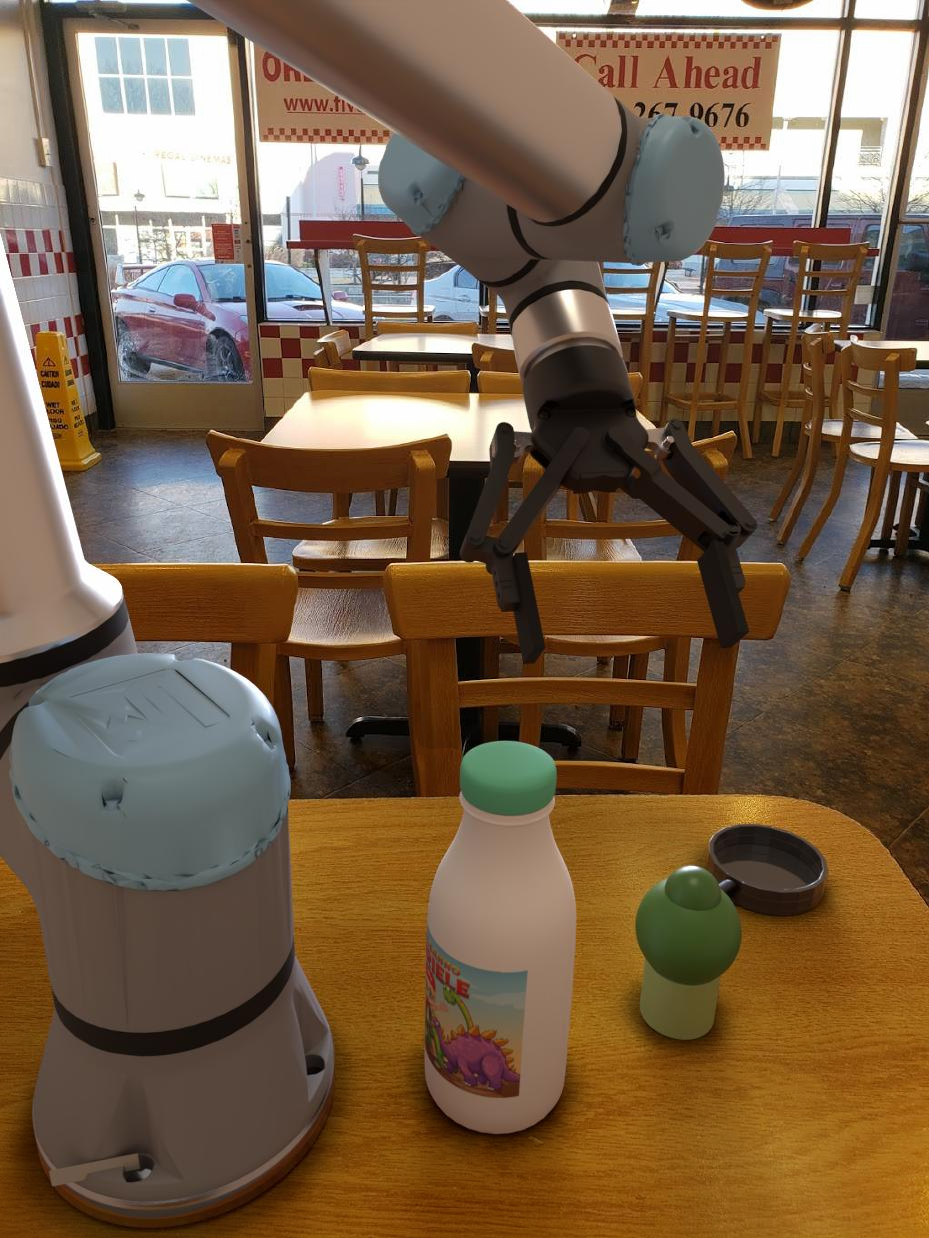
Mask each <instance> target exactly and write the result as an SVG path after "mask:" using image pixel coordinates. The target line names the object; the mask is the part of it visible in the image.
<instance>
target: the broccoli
mask: <svg viewBox="0 0 929 1238" xmlns="http://www.w3.org/2000/svg"><path fill="white" fill-rule="evenodd" d="M634 924H635V930H634V931H635V937H636V941H637V944H638V947H639V949H640V951H641V953H642V955H643V957H644V965H643V973H642V983H641V988H640V989H641V991H640V997H639V1011H640V1014H641V1017H642V1018H643V1020H644V1021H645V1022H646V1024H647V1025H648V1026H649V1027H650V1028H651V1029H652V1030H654V1031H655V1032H657V1033H658V1034H660V1035H662V1036H664V1037H667V1038H670V1039H674V1040H680V1041H689V1040H690V1041H691V1040H695V1039H699V1038H701V1037H704V1036H705V1035H706V1034H708V1033H709V1032H710V1030H711V1029H712V1028H713V1025H714V1022H715V1015H716V1009H717V1003H718V998H719V991H720V984H721V978H722V975H723V974H725V973H726V972H727V971H728V970H729V969H730V968H731V966H733V964H734V962H735V961H736V959H737V957H738V954H739V952H740V949H741V944H742V937H743V932H742V931H743V930H742V929H743V928H742V923H741V918H740V915H739V912H738V910H737V907H736V906H735V903H733V902H732V901H731V899H730V898H729V897H728V896H727V894H726V893H725V892H724V891H723V890H722V889H720V886H719V884H718V882H717V880H716V879H715V877H714V876H713V875H712V874H711V873H710V872H708V871H707V870H706V868H703V867H700V866H698V865H684V866H681V867H679V868H677V869H675V870H673V872H672V873H670V875H669V876H668V877H666V878H664V879H662V880H660V881H659V882H657V883H656V884H655V885H653V886H651V888H649V890H648V891H647V892H646V893H645V894H644V896H643V898H642V899H641V901H640V902H639V905H638V907H637V910H636V916H635V923H634Z"/></svg>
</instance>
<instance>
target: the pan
mask: <svg viewBox="0 0 929 1238" xmlns="http://www.w3.org/2000/svg"><path fill="white" fill-rule="evenodd" d="M706 852H707V853H706V858H705V859H706V860H705V870H707V871H708V872H710V873H711V874H712V875H713V876H714V877H715V879H716V880H717V882H718V884H720V883H721V882H723V881H724V880H732V881H734V882H735V883H736V885H737V893H736V895H735V896H733V897H732V898H730V899H731V901H732V902H733V904H734V905H737V906H738V907H741V908H743V909H745V910H748V911H752V912H755V913H759V914H764V915H769V916H782V917H783V916H784V917H785V916H795V915H801V914H804V913H807V912H809V911H811V910H813V909H814V908H816V907H817V906H818V905H819V904H820V903H821V901H822V899H823V897H824V892H825V889H826V885H827V880H828V875H829V868H828V863H827V859H826V858H825V856H824V855H823V853H822V852H821V851H820V849H819V848H817V847H816V846H815V845H814V844H812V843H811V842H810V841H809V840H807V839H805V837H802V836H800V835H798V834H796V833H794V832H792V831H789V830H786V829H783V828H780V827H776V826H773V825H766V824H760V823H737V824H733V825H729V826H725V827H723V828H721V829H719V830H718V831H716V832H715V833H713V835H712V836H711V838H710V840H709V841H708V845H707V851H706Z"/></svg>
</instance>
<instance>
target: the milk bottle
mask: <svg viewBox="0 0 929 1238" xmlns="http://www.w3.org/2000/svg"><path fill="white" fill-rule="evenodd" d="M459 769H460V770H459V788H460V792H459V803H460V805H461V807H462V809H463V814H462V818H461V821H460V824H459V826H458V828H457V832H456V834H455V836H454V839H453V840H452V842H451V843H450V845H449V847H448V849H447V850H446V852H445V854H444V856H442V857H443V858H442V859H441V861H440V863H439V865H438V867H437V870H436V873H435V875H434V877H433V881H432V885H431V888H430V892H429V899H428V906H427V916H426V917H427V918H426V934H425V935H426V936H425V977H424V978H425V981H424V985H425V986H424V1077H425V1082H426V1086H427V1088H428V1091H429V1093H430V1095H431V1098H432V1099H433V1100H434V1102H435V1104H436V1106H437V1107H438V1108H440V1110H441V1111H442V1112H443V1113H444V1115H446V1116H447V1117H448V1118H450V1119H451V1120H453V1121H454V1122H455V1123H456V1124H458V1125H461V1126H463V1127H465V1128H467V1129H469V1130H472V1131H476V1132H479V1133H485V1134H492V1135H501V1134H511V1133H516V1132H520V1131H523V1130H526V1129H527V1128H530V1127H532V1126H534V1125H536V1124H537V1123H539V1122H540V1121H541V1120H543V1119H545V1117H547V1115H549V1113H550V1112H551V1111H552V1110H553V1109H554V1107H555V1106H556V1104H557V1103H558V1101H559V1100H560V1098H561V1096H562V1093H563V1091H564V1085H565V1079H566V1071H567V1061H568V1049H569V1036H570V1024H571V1013H572V1012H571V1011H572V1000H573V998H572V997H573V987H574V986H573V985H574V984H573V983H574V972H575V971H574V970H575V956H576V944H577V943H576V941H577V940H576V938H577V937H576V936H577V905H576V897H575V891H574V886H573V882H572V878H571V875H570V873H569V870H568V867H567V865H566V862H565V861H564V858H563V856H562V854H561V852H560V849H559V847H558V844H557V843H556V840H555V837H554V834H553V830H552V826H551V821H550V814H551V813H552V812H553V809H554V807H555V804H556V800H555V799H556V798H555V794H556V789H557V779H558V778H557V777H558V776H557V766H556V763H555V760H554V759H553V757H552V756H551V755H550V754H549V753H547V752H546V751H545V750H543V749H542V748H540V747H537V746H535V745H532V744H530V743H526V742H521V741H515V740H497V741H489V742H485V743H481V744H479V745H476V746H475V747H472V748H471V749H470V750H468V751H467V752H466V753H465V755H464V756H463V757H462V759H461V763H460V767H459Z"/></svg>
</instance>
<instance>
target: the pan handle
mask: <svg viewBox="0 0 929 1238" xmlns="http://www.w3.org/2000/svg"><path fill="white" fill-rule="evenodd" d="M719 886H720V889H722V890H723V891H724V892H725V893H726V894H727V896H728V897H729V898H732V897H733V896H735V895H736V893H737V885H736V883H735V882H734V881H732V880H724V881H723V882H721V883H720V884H719Z"/></svg>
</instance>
